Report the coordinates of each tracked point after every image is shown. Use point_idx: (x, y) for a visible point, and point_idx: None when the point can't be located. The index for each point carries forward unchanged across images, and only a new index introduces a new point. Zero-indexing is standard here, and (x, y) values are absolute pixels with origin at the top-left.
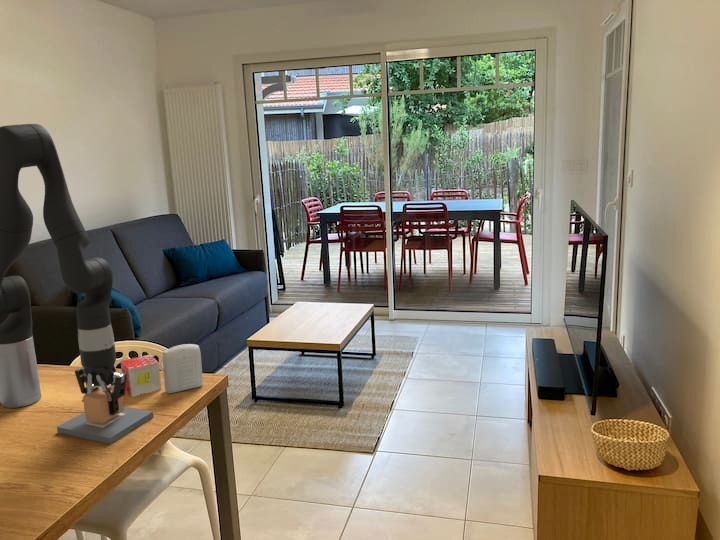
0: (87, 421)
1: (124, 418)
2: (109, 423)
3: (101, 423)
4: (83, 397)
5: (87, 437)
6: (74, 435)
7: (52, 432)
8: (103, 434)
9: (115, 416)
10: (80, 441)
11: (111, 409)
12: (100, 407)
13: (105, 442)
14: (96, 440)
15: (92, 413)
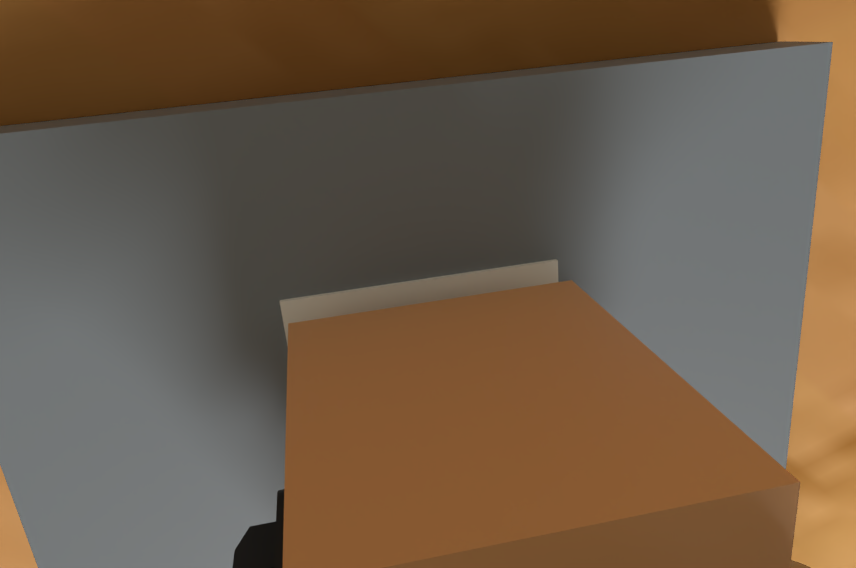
0: None
1: None
2: None
3: None
4: (766, 469)
5: (325, 93)
6: (534, 69)
7: (838, 22)
8: (80, 177)
9: None
10: (359, 13)
11: (280, 553)
12: (286, 461)
13: (16, 124)
14: (176, 108)
15: (469, 350)
